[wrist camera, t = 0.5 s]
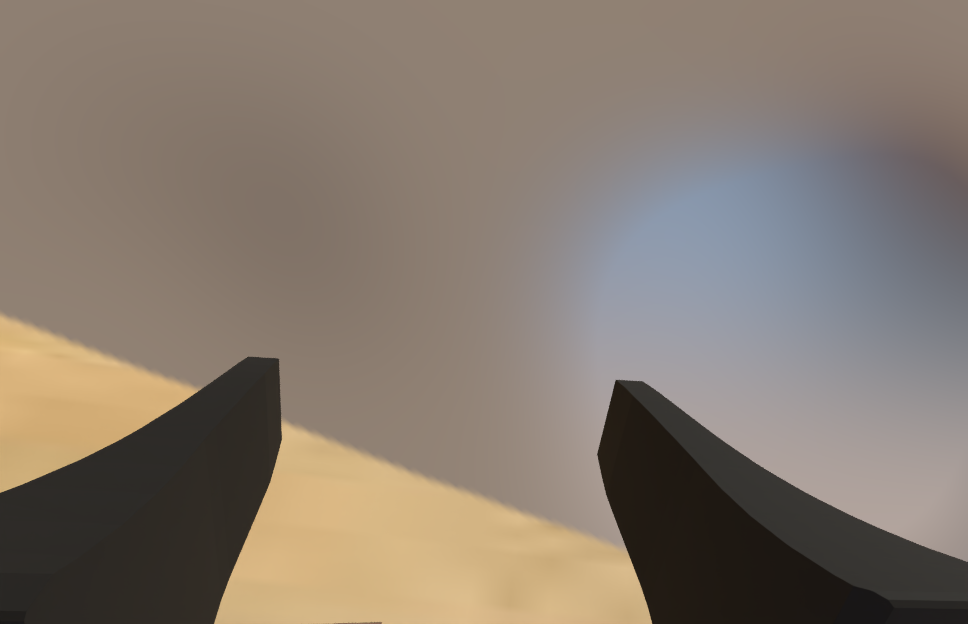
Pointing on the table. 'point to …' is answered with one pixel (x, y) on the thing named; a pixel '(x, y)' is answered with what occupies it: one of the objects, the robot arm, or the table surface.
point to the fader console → (362, 623)
